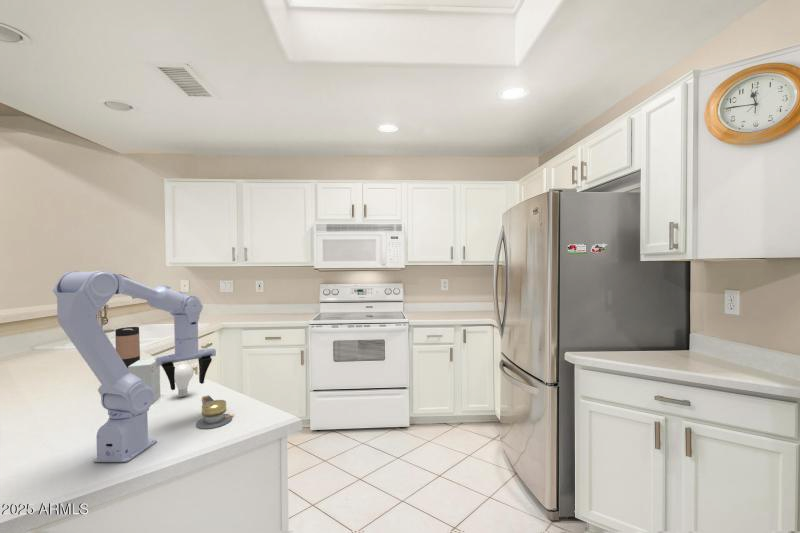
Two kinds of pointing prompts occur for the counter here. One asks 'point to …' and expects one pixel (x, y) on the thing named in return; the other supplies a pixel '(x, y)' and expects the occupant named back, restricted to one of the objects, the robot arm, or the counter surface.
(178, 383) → the lightbulb
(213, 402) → the collar
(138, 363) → the small box
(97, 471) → the counter surface
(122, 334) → the travel mug
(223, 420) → the post base
